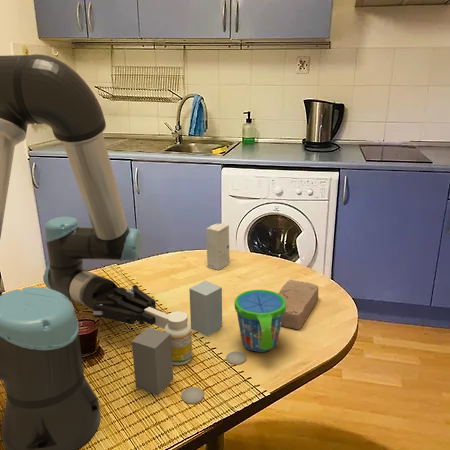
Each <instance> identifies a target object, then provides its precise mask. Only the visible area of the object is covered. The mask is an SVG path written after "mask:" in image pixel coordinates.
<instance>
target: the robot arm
mask: <svg viewBox="0 0 450 450" xmlns="http://www.w3.org/2000/svg"><path fill="white" fill-rule="evenodd" d="M29 125H47V126H49V127H50V129H51V130H52V134H53V136H54V138H55V139H56V140H57V141H59V142H60V143H62V144H63V147H64V151H65V152H66V156H67V159H68V161H69V164H70V167H71V170H72V173H73V177H74V179H75V181H76V184H77V188H78V190H79V193H80V196H81V198H82V201H83V205H84V207H85V209H86V213H87V215H88V216H87V217H88V219H89V221H90V224H91V227H84V226H83V227H82V226H81V227H80V224H79V222H78V220H77V218H75V217H71V216H59V217H55V218H51V219H49V221H47V222H46V223H45V225H44V232H45V233H44V234H45V243H46V249H47V254H48V260H49V264H48V265H47V266H46V268H45V269H44V273H43V274H44V275H43V277H42V278H43V284H44V285H45V287H24V288H23V289H13V290H10V291H7V292H5V293H3V290H2V288H0V381H2V382H3V386H4V389H5V390H4V391H5V395H6V401H5V407H4V411H3V417H2V418H3V419H2V422H1V427H0V429H1V430H0V431H1V438H2V439H1V440H2V443H3V447H4V450H79V449H81V448H82V447H83V446H85V444H87V443H88V442H89V441H90V440H91V439H92V437H93V436H94V435H95V433H96V432H97V430H98V428H99V426H100V423H101V408H100V402H99V399H98V397H97V396H96V393H95V392H94V390H93V388H92V387H91V386H90V384H89V382H88V380H87V378H86V377H85V371H84V363H83V357H82V349H81V341H80V333H79V329H80V325H79V321H78V318H77V314H76V311H75V307H74V305H73V302H72V301H74V302H76V303H78V304H81V305H83V306H86V307H87V308H89V309H92V314H93V318H94V319H106V320H110V321H114V322H119V323H123V324H127V325H131V326H132V325H135V324H136V322H138V325H139V326H142V325H144V324H145V323H146V324H148V325H150V326H151V325H152V326H155V327H159V328H161V329H163V330H164V329H165V326H166V325H167V324H168V323H167V316H168V314H169V313H165V312H164V311H163V310H162V309H159V308H157V307H156V306H157V305H156V300H155V299H154V298H152V297H151V296H150V295H149V294H147V293H146V292H144V291H142V290H141V289H139V286H138V285H137V284H136V285H132V288H130V289H126V288H125V287H120V286H118V285H117V284H116V283H115V282H114V281H113V280H111V279H109V278H106V277H103V276H101V275H99V274H96V273H94V272H91V271H88V270H85V269H84V263H83V260H97V261H98V260H100V261H101V260H102V261H120V262H123V261H135V260H137V259H138V258H140V255H141V253H142V248H143V237H142V236H143V235H142V233H141V231H140V230H139V229H138V228H134V227H133V228H132V227H129V225H128V223H127V219H126V215H125V211H124V208H123V204H122V202H121V201H122V200H121V197H120V192H119V189H118V185H117V182H116V178H115V174H114V170H113V167H112V163H111V159H110V155H109V152H108V148H107V144H106V140H105V136H104V132H105V130H106V128H107V124H106V120H105V115H104V112H103V109H102V107H101V104H100V102H99V100H98V99H97V97H96V95H95V93H94V91H93V90H92V88H91V87H90V85H88V84H87V82H86V81H85V80H84V78H82V76H81V75H80V74H79V73H78V72H76V70H74V69H73V68H72V67H71V66H69V65H68V64H67V63H65V62H63V61H61V60H59V59H57V58H56V57H52V56H50V55H47V54H46V55H45V54H37V53H36V54H20V55H17V54H13V55H0V239H1V238H2V237H1V236H2V231H3V230H2V229H3V224H4V217H5V210H6V204H7V199H8V192H9V185H10V178H11V175H12V174H11V172H12V168H13V161H14V160H13V159H14V153H15V147H16V145H17V146H18V145H19V144H20V143H22V142H24V141H25V139H26V137H27V131H28V126H29ZM71 300H72V301H71Z"/></svg>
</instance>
